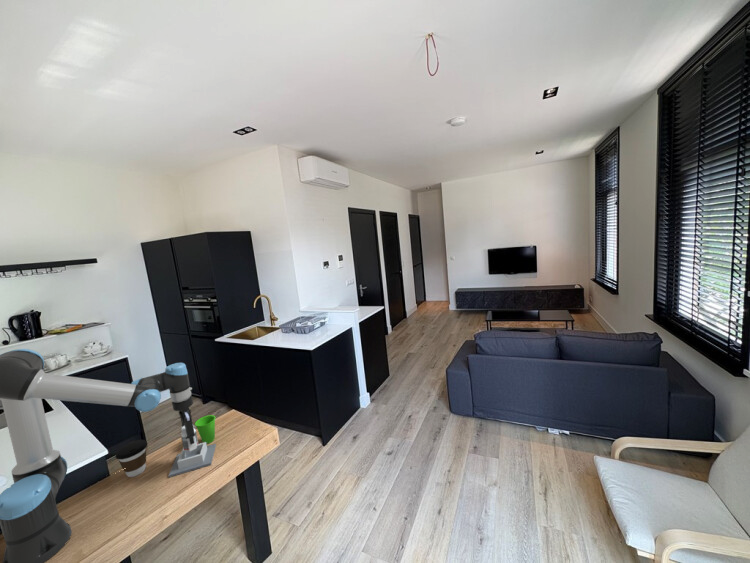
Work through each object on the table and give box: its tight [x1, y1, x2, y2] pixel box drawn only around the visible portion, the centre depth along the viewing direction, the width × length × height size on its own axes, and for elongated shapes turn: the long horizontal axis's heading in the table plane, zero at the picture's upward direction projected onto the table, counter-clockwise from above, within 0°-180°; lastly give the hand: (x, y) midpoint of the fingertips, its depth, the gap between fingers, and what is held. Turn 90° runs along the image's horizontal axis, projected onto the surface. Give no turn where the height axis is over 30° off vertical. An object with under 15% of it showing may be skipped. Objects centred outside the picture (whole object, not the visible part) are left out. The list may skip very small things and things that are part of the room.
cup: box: [194, 414, 217, 444], centre depth 148 cm, size 9×9×11 cm
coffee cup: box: [114, 439, 148, 478], centre depth 131 cm, size 11×11×12 cm
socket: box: [168, 442, 217, 478], centre depth 135 cm, size 16×14×4 cm
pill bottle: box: [180, 425, 199, 451], centre depth 134 cm, size 6×6×10 cm
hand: (191, 446), depth 134 cm, fingers closed on pill bottle, 6 cm apart
